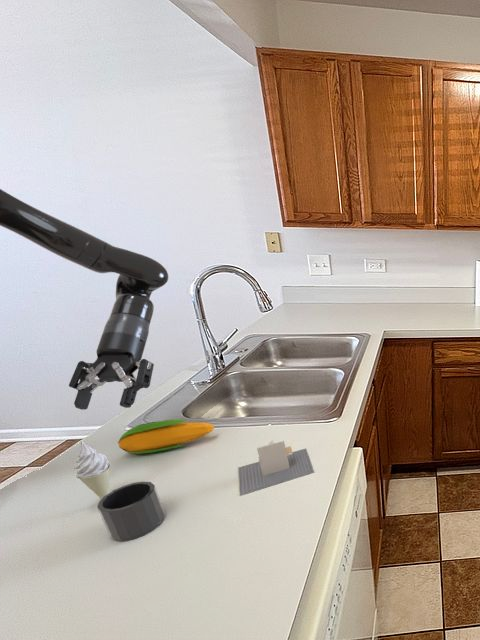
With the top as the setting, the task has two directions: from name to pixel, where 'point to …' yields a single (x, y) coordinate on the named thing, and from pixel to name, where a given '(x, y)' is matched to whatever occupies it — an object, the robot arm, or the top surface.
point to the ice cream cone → (93, 470)
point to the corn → (162, 435)
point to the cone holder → (131, 511)
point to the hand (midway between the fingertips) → (103, 407)
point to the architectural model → (274, 467)
